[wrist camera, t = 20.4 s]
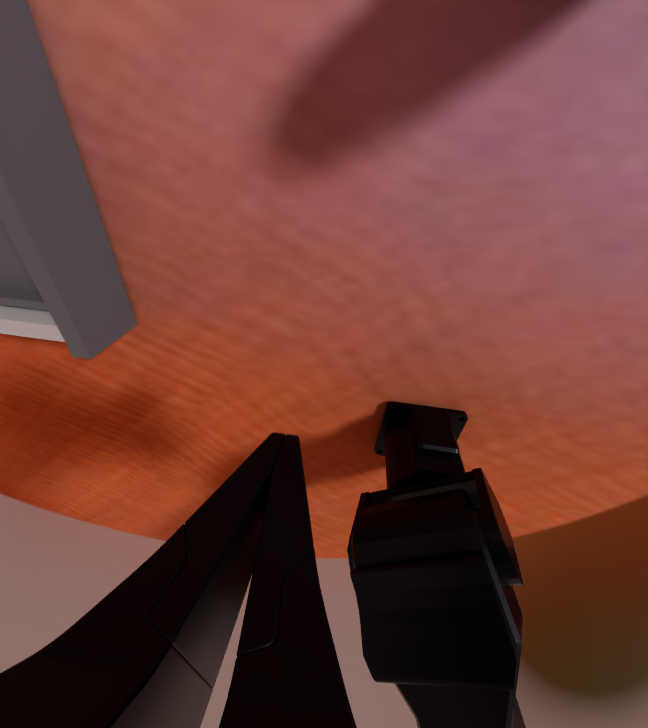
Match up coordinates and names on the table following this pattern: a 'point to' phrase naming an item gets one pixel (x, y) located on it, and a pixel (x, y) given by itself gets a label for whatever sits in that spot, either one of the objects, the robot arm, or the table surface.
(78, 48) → the table surface
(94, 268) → the tray
